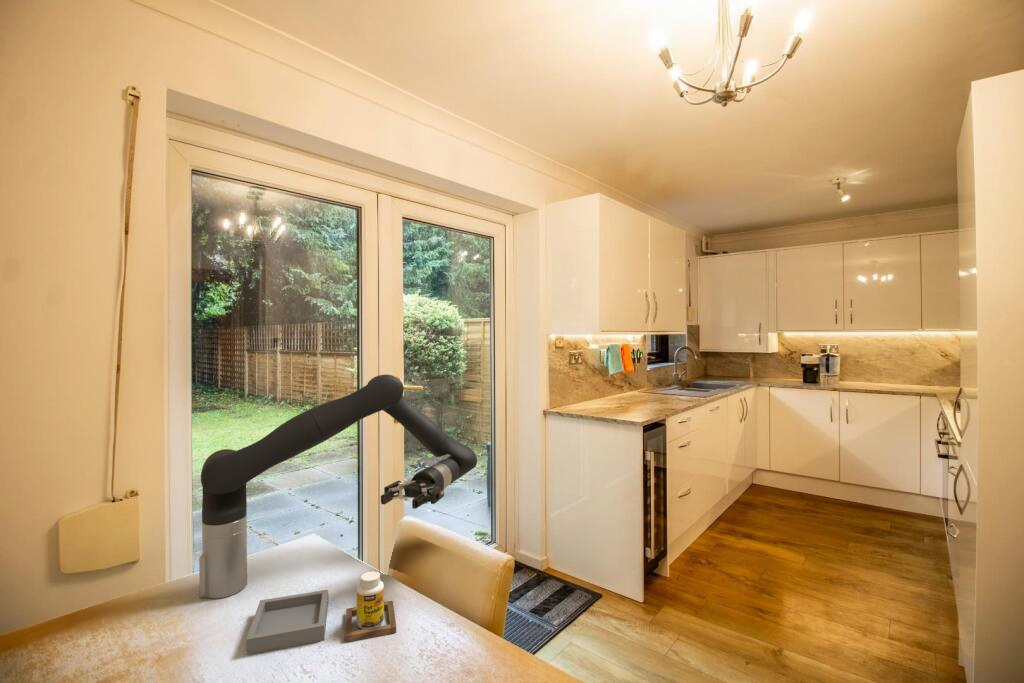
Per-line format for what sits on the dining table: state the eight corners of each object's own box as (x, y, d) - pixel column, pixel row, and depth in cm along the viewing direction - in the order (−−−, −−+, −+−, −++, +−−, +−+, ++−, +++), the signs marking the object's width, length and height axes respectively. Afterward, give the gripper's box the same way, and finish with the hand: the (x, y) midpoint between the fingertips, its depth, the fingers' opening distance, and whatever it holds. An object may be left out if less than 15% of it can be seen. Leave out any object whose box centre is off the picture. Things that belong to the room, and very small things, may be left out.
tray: (246, 654, 90) (246, 639, 90) (260, 613, 104) (260, 600, 104) (324, 640, 95) (324, 625, 95) (328, 602, 108) (328, 589, 108)
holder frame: (345, 642, 94) (345, 636, 94) (346, 614, 104) (346, 608, 104) (396, 632, 97) (396, 626, 97) (392, 605, 107) (392, 600, 107)
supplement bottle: (360, 634, 97) (360, 585, 97) (353, 620, 101) (353, 573, 101) (387, 625, 100) (387, 577, 100) (379, 612, 104) (379, 566, 104)
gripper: (408, 464, 127) (371, 483, 112) (456, 469, 123) (424, 489, 107) (409, 491, 128) (372, 514, 112) (456, 497, 123) (424, 522, 108)
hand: (397, 502), depth 110 cm, fingers open, 8 cm apart
